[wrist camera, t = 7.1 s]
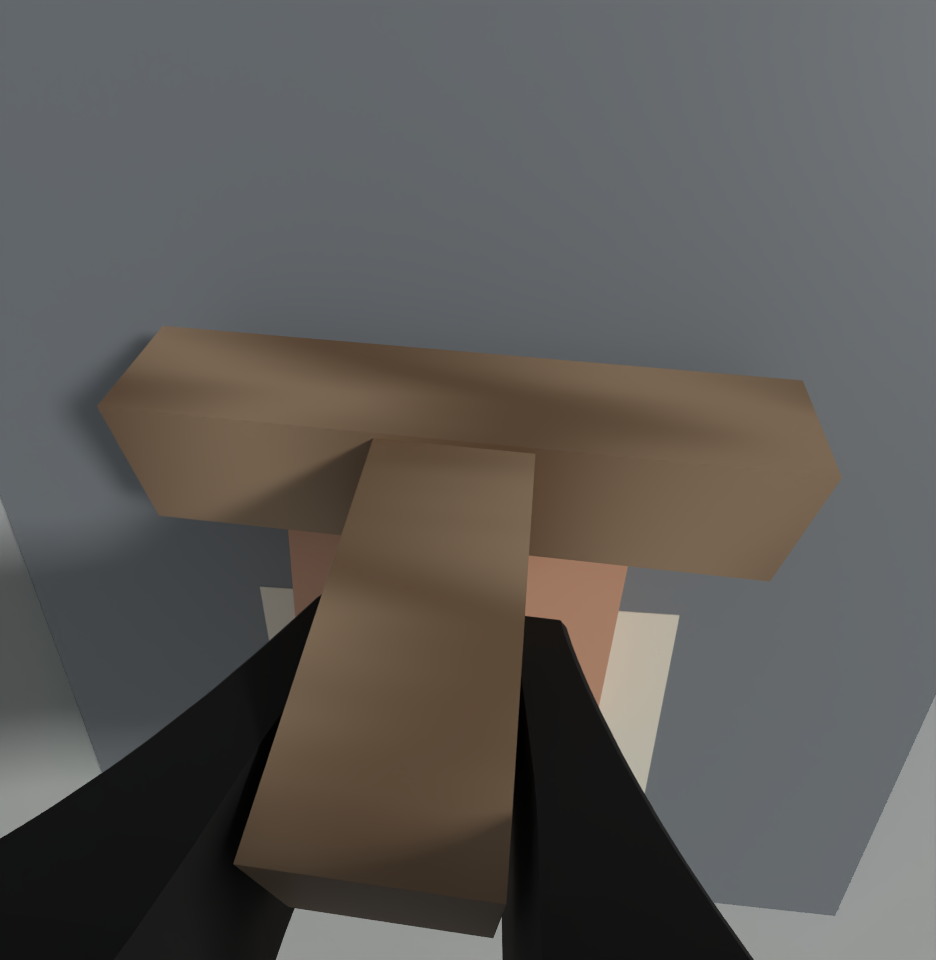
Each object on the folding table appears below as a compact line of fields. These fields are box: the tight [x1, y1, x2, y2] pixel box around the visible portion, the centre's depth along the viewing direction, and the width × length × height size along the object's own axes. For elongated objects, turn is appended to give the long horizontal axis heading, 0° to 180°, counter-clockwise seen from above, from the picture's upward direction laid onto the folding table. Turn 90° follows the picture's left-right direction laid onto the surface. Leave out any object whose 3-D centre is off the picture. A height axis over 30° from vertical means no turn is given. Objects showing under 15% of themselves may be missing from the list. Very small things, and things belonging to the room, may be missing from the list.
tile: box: [288, 530, 628, 706], centre depth 12 cm, size 6×6×2 cm
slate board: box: [0, 0, 936, 916], centre depth 13 cm, size 20×22×1 cm
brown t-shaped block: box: [97, 326, 842, 938], centre depth 8 cm, size 10×2×7 cm, turn 86°
